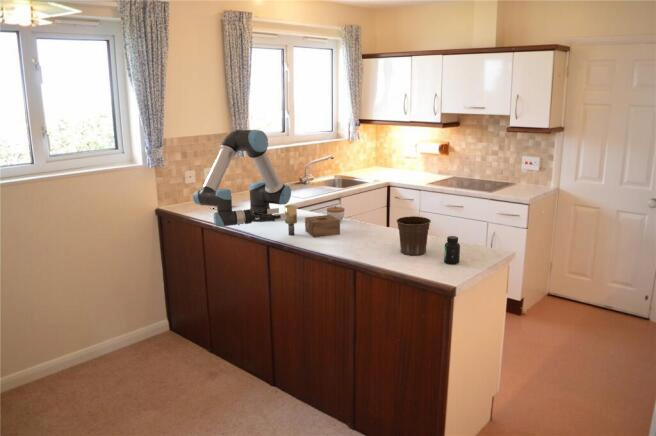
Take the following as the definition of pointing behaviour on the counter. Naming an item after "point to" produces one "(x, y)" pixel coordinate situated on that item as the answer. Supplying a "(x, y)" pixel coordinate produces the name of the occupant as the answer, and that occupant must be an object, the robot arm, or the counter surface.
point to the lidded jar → (336, 212)
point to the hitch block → (322, 226)
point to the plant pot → (413, 234)
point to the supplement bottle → (452, 251)
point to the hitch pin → (291, 217)
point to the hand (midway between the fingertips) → (282, 213)
